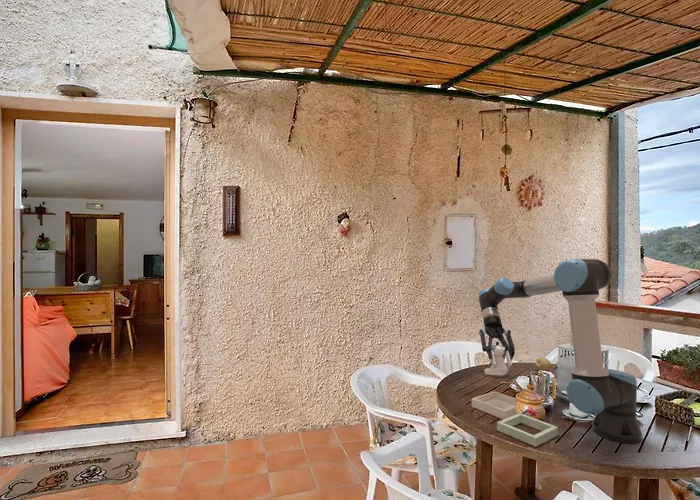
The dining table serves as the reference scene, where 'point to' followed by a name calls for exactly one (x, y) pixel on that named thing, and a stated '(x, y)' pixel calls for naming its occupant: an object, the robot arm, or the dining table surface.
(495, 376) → the coffeepot
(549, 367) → the fruit
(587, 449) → the dining table surface
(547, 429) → the holder
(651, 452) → the dining table surface
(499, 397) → the tray
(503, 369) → the sitting furry creature
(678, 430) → the dining table surface
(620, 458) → the dining table surface
